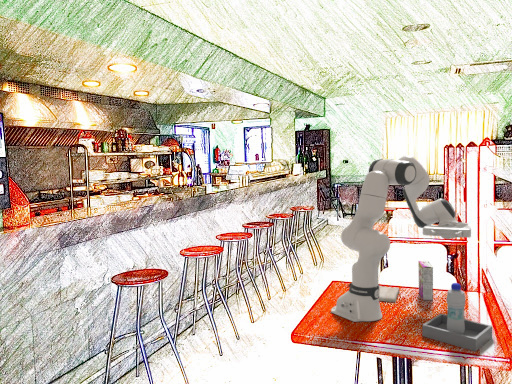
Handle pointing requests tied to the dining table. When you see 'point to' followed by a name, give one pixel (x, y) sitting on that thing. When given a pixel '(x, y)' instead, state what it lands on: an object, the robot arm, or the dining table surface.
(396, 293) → the washcloth
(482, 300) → the dining table surface
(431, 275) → the candy bar box
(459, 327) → the bottle
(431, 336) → the serving tray
